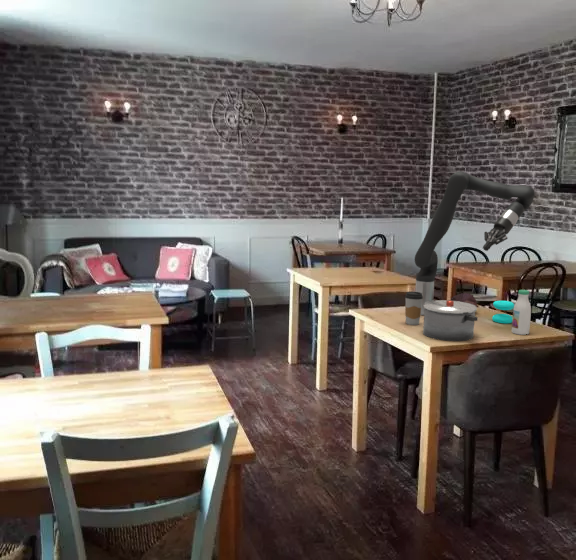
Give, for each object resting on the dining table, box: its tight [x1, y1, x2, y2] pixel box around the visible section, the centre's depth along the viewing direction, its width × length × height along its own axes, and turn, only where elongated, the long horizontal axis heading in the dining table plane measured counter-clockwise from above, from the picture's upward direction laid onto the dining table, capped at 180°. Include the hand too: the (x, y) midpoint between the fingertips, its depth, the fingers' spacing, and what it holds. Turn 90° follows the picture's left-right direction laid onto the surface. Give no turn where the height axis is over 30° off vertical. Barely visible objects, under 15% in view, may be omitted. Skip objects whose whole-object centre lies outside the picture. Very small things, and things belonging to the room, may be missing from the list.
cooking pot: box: [422, 309, 479, 342], centre depth 291 cm, size 31×22×12 cm
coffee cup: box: [404, 291, 423, 326], centre depth 310 cm, size 8×8×15 cm
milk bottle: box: [511, 289, 532, 336], centre depth 297 cm, size 8×8×20 cm
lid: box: [424, 299, 478, 314], centre depth 290 cm, size 23×24×3 cm
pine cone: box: [450, 292, 479, 308], centre depth 341 cm, size 18×10×10 cm, turn 34°
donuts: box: [491, 300, 515, 325], centre depth 320 cm, size 10×10×10 cm
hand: (485, 249), depth 295 cm, fingers closed
